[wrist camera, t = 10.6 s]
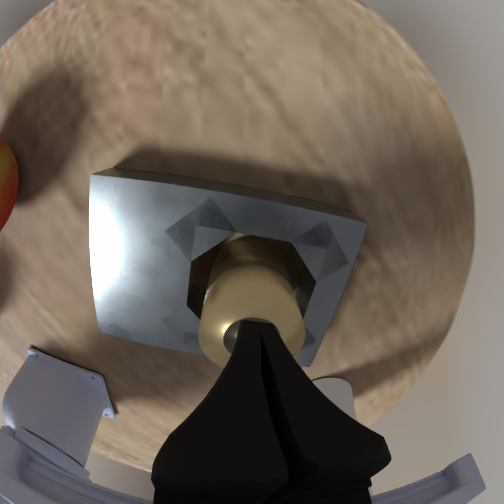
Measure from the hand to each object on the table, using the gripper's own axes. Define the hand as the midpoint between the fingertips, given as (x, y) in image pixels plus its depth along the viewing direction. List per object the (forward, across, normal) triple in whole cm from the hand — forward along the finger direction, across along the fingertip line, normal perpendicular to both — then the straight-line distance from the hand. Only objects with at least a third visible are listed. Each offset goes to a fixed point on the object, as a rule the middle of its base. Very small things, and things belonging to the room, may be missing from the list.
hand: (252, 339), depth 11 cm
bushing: (+6, 0, 0) cm, 6 cm away
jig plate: (+6, +2, 0) cm, 6 cm away
